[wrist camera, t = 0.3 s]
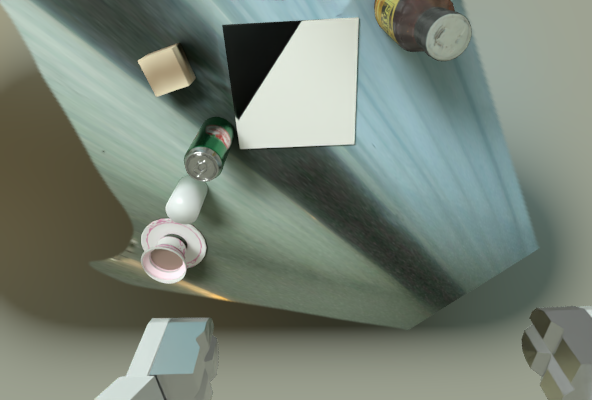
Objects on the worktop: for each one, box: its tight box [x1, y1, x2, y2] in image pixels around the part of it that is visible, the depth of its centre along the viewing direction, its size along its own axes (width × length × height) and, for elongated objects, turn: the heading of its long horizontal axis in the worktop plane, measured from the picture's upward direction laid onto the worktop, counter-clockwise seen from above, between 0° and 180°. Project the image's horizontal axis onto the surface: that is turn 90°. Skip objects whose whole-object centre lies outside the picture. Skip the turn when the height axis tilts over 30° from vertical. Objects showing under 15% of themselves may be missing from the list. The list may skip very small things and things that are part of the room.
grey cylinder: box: [166, 175, 208, 224], centre depth 62 cm, size 5×5×7 cm
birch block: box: [138, 43, 196, 97], centre depth 53 cm, size 5×5×4 cm
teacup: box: [141, 218, 207, 283], centre depth 69 cm, size 12×12×6 cm
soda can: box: [184, 117, 234, 182], centre depth 54 cm, size 5×5×12 cm
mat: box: [222, 17, 359, 149], centre depth 56 cm, size 18×18×1 cm
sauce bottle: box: [374, 0, 472, 61], centre depth 42 cm, size 6×6×20 cm
